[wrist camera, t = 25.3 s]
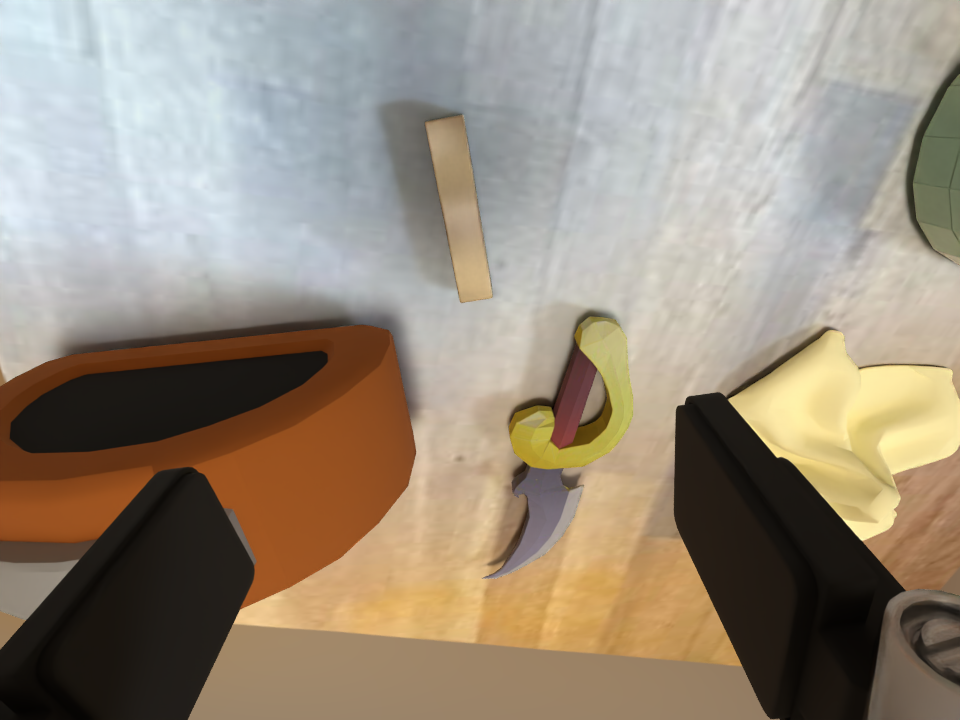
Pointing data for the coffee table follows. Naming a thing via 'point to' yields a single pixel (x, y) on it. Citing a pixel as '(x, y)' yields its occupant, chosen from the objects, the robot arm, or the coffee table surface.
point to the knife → (568, 438)
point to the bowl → (941, 177)
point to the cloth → (853, 426)
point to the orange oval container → (205, 448)
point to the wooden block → (459, 206)
